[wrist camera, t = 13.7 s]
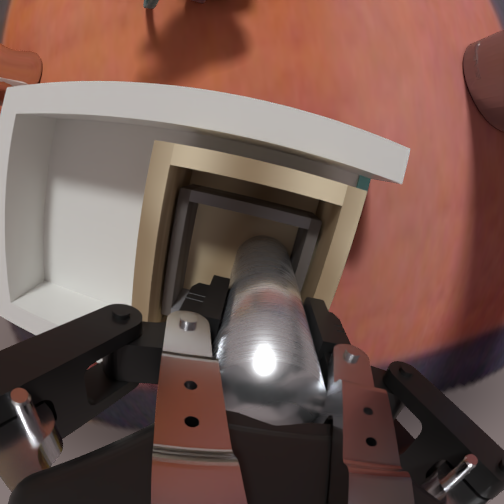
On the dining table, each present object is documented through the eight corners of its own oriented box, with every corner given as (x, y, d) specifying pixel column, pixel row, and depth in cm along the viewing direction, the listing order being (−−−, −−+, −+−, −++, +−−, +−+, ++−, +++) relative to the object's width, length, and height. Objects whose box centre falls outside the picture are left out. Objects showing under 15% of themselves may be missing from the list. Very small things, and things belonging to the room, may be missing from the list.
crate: (335, 182, 18) (367, 191, 13) (286, 339, 22) (293, 392, 16) (185, 146, 18) (154, 140, 12) (158, 309, 21) (129, 354, 16)
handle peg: (295, 242, 18) (348, 371, 7) (281, 292, 19) (301, 448, 8) (241, 229, 18) (209, 346, 6) (229, 280, 19) (192, 431, 7)
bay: (368, 151, 19) (410, 148, 13) (301, 360, 24) (310, 413, 18) (56, 97, 18) (6, 87, 12) (40, 287, 23) (-1, 315, 17)
